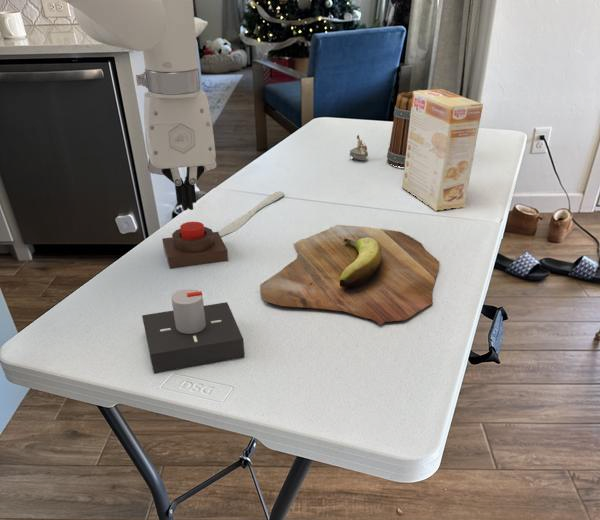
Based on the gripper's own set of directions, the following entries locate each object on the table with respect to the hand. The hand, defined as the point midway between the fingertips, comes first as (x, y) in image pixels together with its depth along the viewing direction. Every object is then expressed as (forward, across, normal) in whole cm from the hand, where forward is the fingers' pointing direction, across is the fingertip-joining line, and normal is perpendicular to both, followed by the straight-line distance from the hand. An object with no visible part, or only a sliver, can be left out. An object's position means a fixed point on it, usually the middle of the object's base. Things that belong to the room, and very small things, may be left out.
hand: (187, 207), depth 95 cm
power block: (+9, +1, 0) cm, 9 cm away
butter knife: (+8, +14, +15) cm, 22 cm away
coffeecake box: (+8, +54, +13) cm, 56 cm away
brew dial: (+6, -4, -28) cm, 29 cm away
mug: (+8, +61, +38) cm, 72 cm away
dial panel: (+9, -4, -28) cm, 29 cm away
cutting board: (+9, +26, -13) cm, 30 cm away
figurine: (+8, +49, +42) cm, 65 cm away
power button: (+5, +1, 0) cm, 5 cm away
